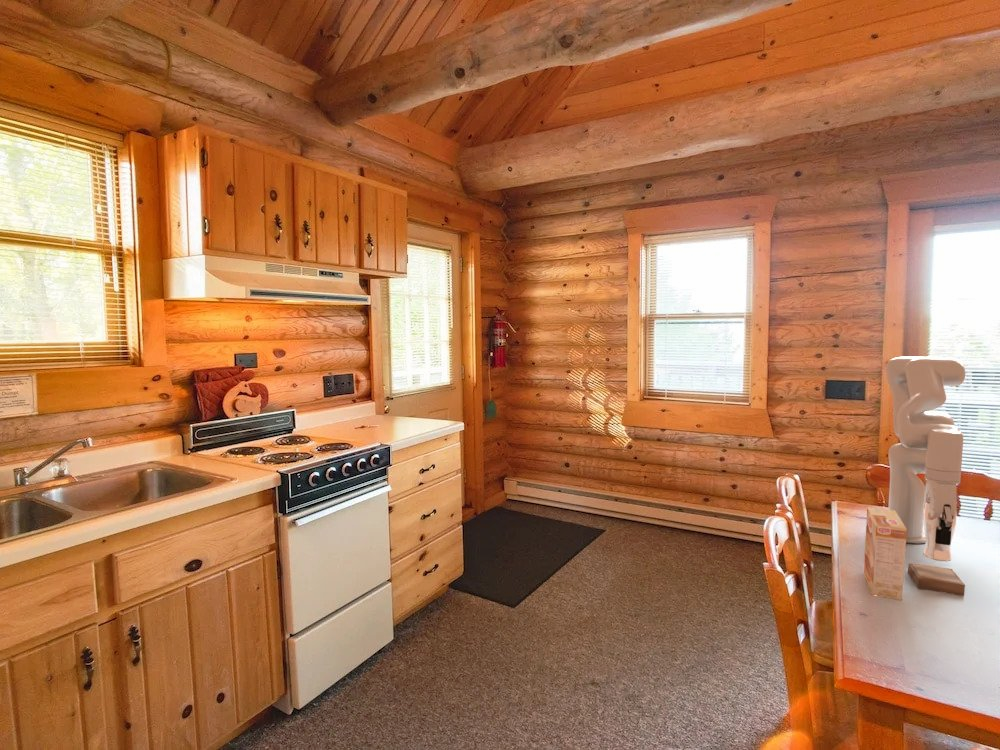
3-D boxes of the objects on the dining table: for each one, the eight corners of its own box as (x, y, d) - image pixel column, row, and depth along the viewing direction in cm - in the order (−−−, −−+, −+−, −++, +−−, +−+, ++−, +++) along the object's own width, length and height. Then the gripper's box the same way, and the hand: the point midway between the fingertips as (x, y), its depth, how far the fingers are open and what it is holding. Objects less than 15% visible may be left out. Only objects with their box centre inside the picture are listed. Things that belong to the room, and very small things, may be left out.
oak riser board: (907, 573, 159) (908, 562, 159) (951, 579, 155) (951, 568, 155) (918, 588, 150) (918, 577, 150) (964, 595, 146) (965, 584, 146)
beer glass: (959, 563, 148) (963, 508, 146) (929, 561, 149) (933, 507, 148) (944, 552, 155) (947, 500, 153) (915, 550, 156) (919, 498, 154)
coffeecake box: (862, 571, 161) (866, 506, 159) (892, 576, 158) (896, 510, 155) (870, 595, 147) (874, 524, 145) (903, 601, 144) (908, 528, 142)
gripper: (916, 465, 159) (912, 526, 161) (935, 482, 143) (931, 549, 145) (948, 468, 156) (944, 530, 158) (972, 485, 140) (967, 553, 142)
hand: (938, 538), depth 151 cm, fingers closed on beer glass, 6 cm apart
